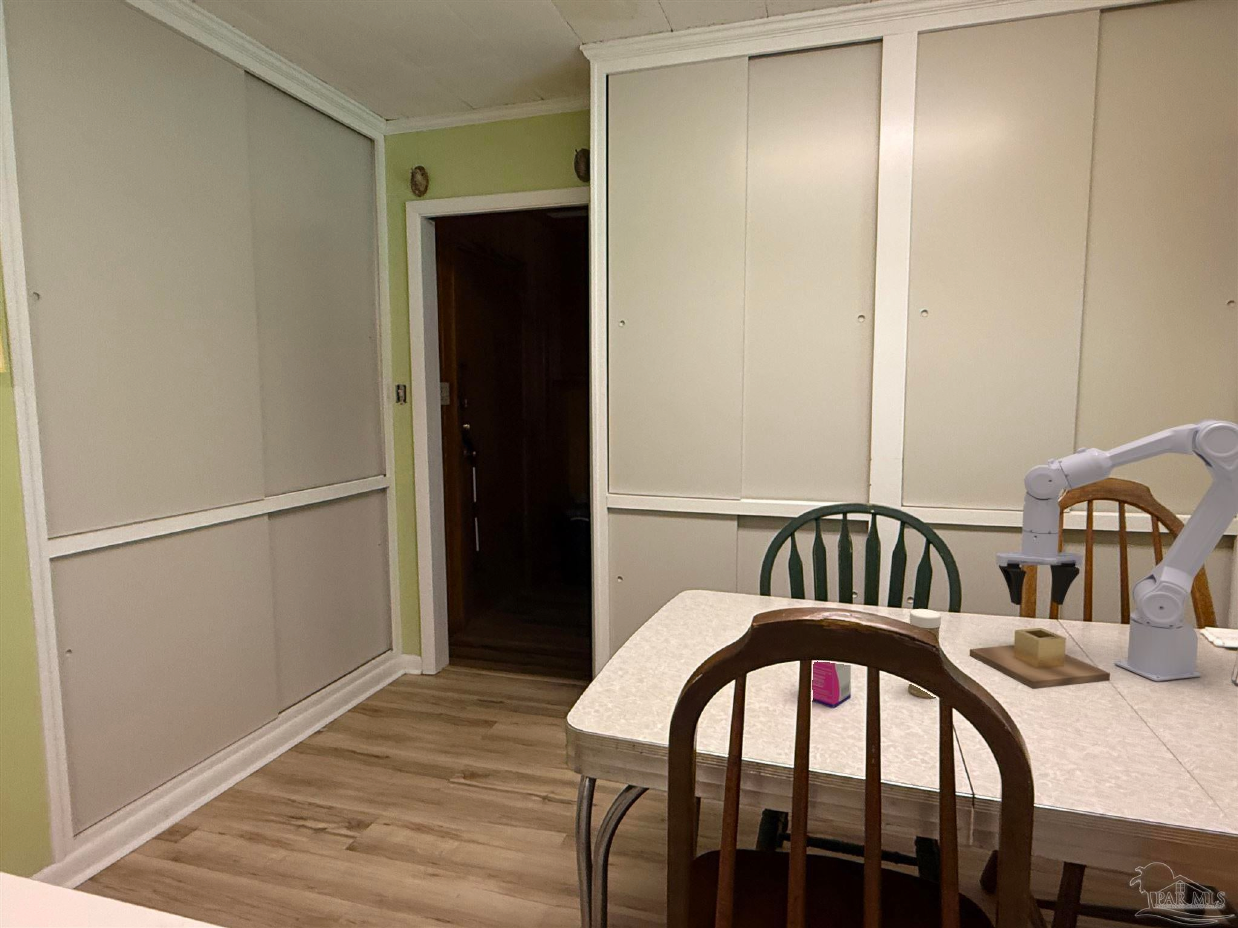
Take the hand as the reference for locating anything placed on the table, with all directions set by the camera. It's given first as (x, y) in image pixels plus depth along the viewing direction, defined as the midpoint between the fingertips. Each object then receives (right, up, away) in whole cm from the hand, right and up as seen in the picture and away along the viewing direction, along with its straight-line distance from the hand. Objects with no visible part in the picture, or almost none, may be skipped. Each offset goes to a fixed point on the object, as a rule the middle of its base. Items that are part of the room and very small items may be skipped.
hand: (1036, 603), depth 129 cm
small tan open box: (-4, -9, -6) cm, 12 cm away
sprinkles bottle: (-28, -12, -16) cm, 34 cm away
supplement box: (-44, -12, -17) cm, 49 cm away
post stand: (-4, -10, -6) cm, 12 cm away
